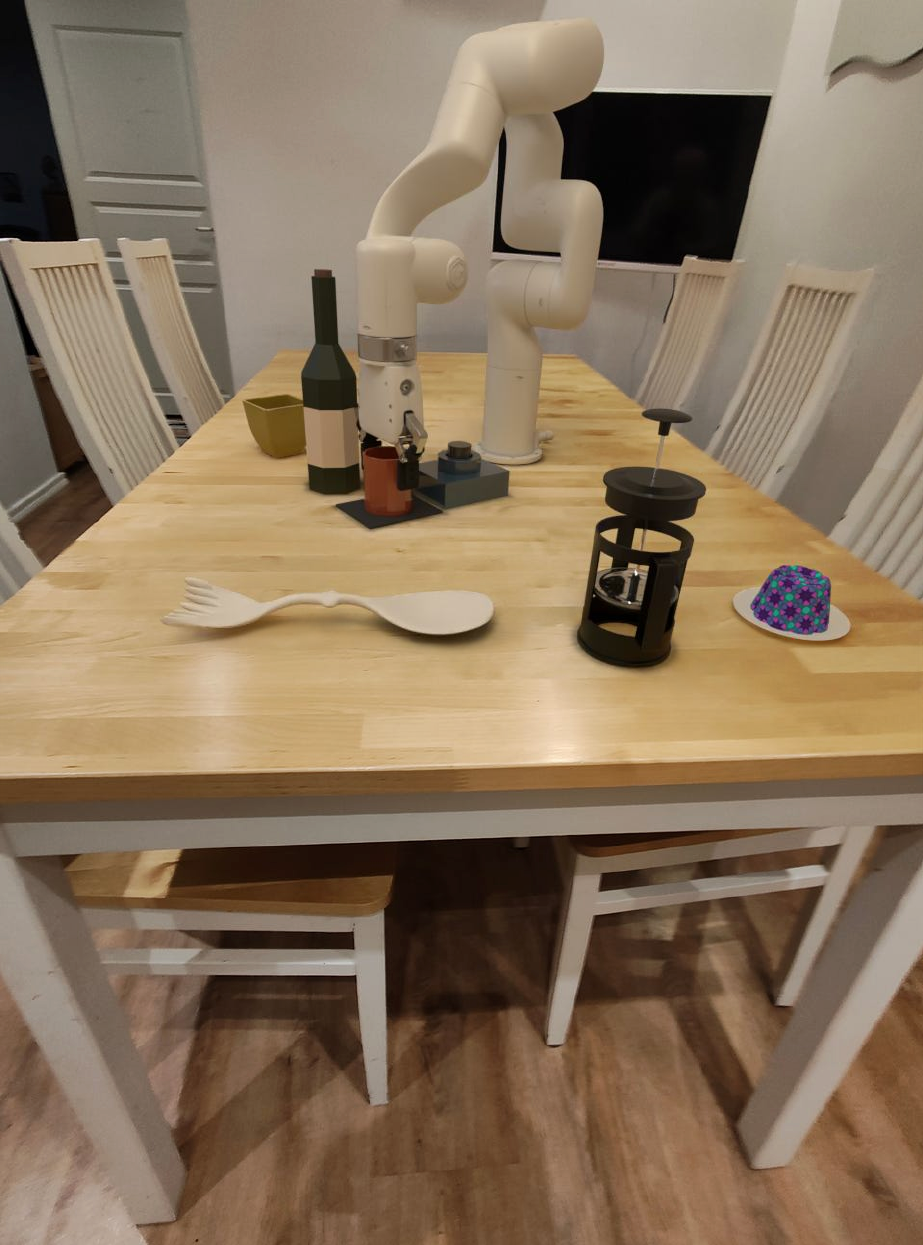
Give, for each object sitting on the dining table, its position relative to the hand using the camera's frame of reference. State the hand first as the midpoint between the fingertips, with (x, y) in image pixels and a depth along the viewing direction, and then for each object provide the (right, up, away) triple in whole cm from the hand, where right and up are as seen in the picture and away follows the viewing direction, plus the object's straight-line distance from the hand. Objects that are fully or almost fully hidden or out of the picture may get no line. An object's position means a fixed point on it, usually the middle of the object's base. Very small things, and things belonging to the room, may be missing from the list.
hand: (389, 478), depth 95 cm
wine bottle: (-10, +1, +10) cm, 14 cm away
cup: (0, -4, +2) cm, 4 cm away
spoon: (-2, -21, -26) cm, 33 cm away
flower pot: (-21, +9, +24) cm, 33 cm away
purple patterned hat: (+46, -20, -21) cm, 54 cm away
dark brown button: (+10, +5, +7) cm, 13 cm away
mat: (0, -4, +2) cm, 5 cm away
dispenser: (+10, 0, +10) cm, 14 cm away
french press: (+27, -23, -27) cm, 44 cm away
